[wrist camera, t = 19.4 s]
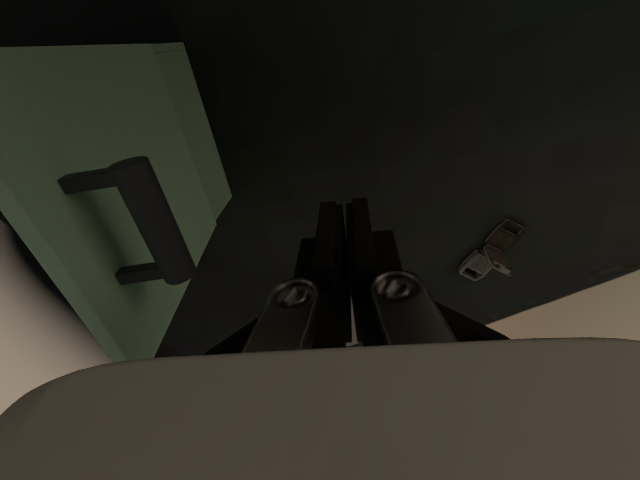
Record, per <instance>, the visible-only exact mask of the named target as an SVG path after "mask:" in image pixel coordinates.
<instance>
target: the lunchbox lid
mask: <svg viewBox="0 0 640 480" xmlns="http://www.w3.org/2000/svg"><path fill="white" fill-rule="evenodd" d="M0 211H1V212H2V213H3V215H4V216H5V217H6V219H7V220H8V221H9V223H10V224H11V225H12V227H13V228H14V229H15V231H16V232H17V233H18V235H19V236H20V237H21V239H22V240H23V241H24V243H25V244H26V245H27V247H28V248H29V249H30V251H31V252H32V254H33V255H34V256H35V258H36V259H37V260H38V262H39V263H40V264H41V266H42V267H43V268H44V270H45V271H46V272H47V274H48V275H49V276H50V277H51V279H52V280H53V282H54V283H55V285H56V286H57V287H58V288H59V290H60V291H61V293H62V294H63V295H64V297H65V298H66V299H67V301H68V302H69V303H70V305H71V306H72V307H73V309H74V310H75V311H76V313H77V314H78V315H79V317H80V318H81V319H82V321H83V322H84V323H85V325H86V326H87V328H88V329H89V330H90V331H91V333H92V334H93V336H94V337H95V338H96V340H97V341H98V342H99V344H100V345H101V346H102V348H103V349H104V350H105V352H106V353H107V354H108V356H109V357H110V359H111V360H112V361H113V363H114V362H120V361H129V360H140V359H151V358H154V356H155V353H156V351H157V349H158V347H159V345H160V343H161V341H162V339H163V337H164V334H165V332H166V330H167V328H168V326H169V324H170V322H171V320H172V317H173V315H174V313H175V311H176V309H177V307H178V305H179V303H180V300H181V298H182V296H183V294H184V292H185V290H186V288H187V286H188V284H189V281H190V279H191V278H192V277H193V276H194V275H195V274H196V271H197V268H196V267H197V264H198V262H199V260H200V258H201V256H202V254H203V252H204V250H205V247H206V245H207V243H208V241H209V239H210V237H211V235H212V233H213V230H214V228H215V226H216V222H215V219H214V216H213V213H212V211H211V208H210V205H209V202H208V200H207V197H206V194H205V191H204V189H203V186H202V183H201V180H200V178H199V175H198V172H197V169H196V167H195V164H194V161H193V158H192V156H191V153H190V150H189V147H188V145H187V142H186V139H185V136H184V134H183V131H182V128H181V125H180V123H179V120H178V117H177V114H176V111H175V109H174V106H173V103H172V100H171V98H170V95H169V92H168V89H167V87H166V84H165V81H164V78H163V76H162V73H161V70H160V67H159V65H158V62H157V59H156V56H155V54H154V51H153V48H152V45H151V44H150V43H148V44H111V45H73V46H35V47H0Z"/></svg>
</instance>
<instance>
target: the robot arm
mask: <svg viewBox="0 0 640 480" xmlns="http://www.w3.org/2000/svg"><path fill="white" fill-rule="evenodd" d="M346 223H347V242H346V234H345V226H344V218H343V210H342V204H340V205H336V201H331V202H322V203H320V209H319V217H318V224H317V231H316V237H315V238H305V239H302V240H301V244H300V248H299V253H298V258H297V263H296V268H295V273H294V278H291V279H288V280H285V281H283V282H281V283H279V284H278V285H277V286H276V287H274V289H273V290H272V291H271V293H270V295H269V297H268V299H267V301H266V303H265V305H264V307H263V309H262V311H261V313H260V315H259V317H258V318H257V319H255V320H254V321H252V322H251V323H249V324H248V325H246V326H245V327H243V328H242V329H240V330H239V331H237V332H236V333H234V334H233V335H231V336H230V337H228V338H227V339H225V340H224V341H222V342H221V343H219V344H218V345H216V346H215V347H213V348H212V349H210V350H209V351H208V352H206V353H205V354H204V355H197V356H180V357H163V358H151V359H140V360H129V361H120V362H114V363H108V364H102V365H98V366H94V367H91V368H86V369H82V370H78V371H75V372H73V373H70V374H67V375H64V376H62V377H59V378H56V379H54V380H51V381H49V382H47V383H45V384H43V385H41V386H39V387H37V388H35V389H33V390H31V391H30V392H28V393H26V394H25V395H23V396H22V397H21V398H19V399H18V400H17V401H16V402H15V403H13V404H12V405H11V406H10V407H9V408H7V409H6V410H5V411H4V412H3V413H2V414H1V415H0V480H640V341H637V340H628V339H617V338H593V337H582V338H532V339H509V338H508V337H506V336H505V335H502V334H501V333H499V332H497V331H495V330H492V329H490V328H488V327H486V326H484V325H482V324H480V323H478V322H476V321H474V320H472V319H470V318H468V317H466V316H464V315H462V314H460V313H458V312H456V311H454V310H452V309H450V308H447V307H445V306H443V305H441V304H439V303H437V302H435V301H434V299H433V298H432V296H431V294H430V292H429V291H428V289H427V287H426V285H425V284H424V282H423V281H422V279H421V278H420V277H419V276H417V275H416V274H414V273H412V272H409V271H406V270H402V267H401V263H400V259H399V255H398V251H397V247H396V243H395V239H394V235H393V231H392V230H388V231H377V232H372V231H371V224H370V217H369V210H368V203H367V198H358V199H352V203H349V204H346ZM351 299H352V306H353V314H354V322H355V329H356V337H357V342H363V345H364V347H346V343H352V321H351Z"/></svg>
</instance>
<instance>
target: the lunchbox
mask: <svg viewBox="0 0 640 480" xmlns="http://www.w3.org/2000/svg"><path fill="white" fill-rule="evenodd" d="M151 45H152V48H153V51H154V54H155V56H156V59H157V62H158V65H159V67H160V70H161V73H162V76H163V78H164V81H165V84H166V87H167V89H168V92H169V95H170V98H171V100H172V103H173V106H174V109H175V111H176V114H177V117H178V120H179V123H180V125H181V128H182V131H183V134H184V136H185V139H186V142H187V145H188V147H189V150H190V153H191V156H192V158H193V161H194V164H195V167H196V169H197V172H198V175H199V178H200V180H201V183H202V186H203V189H204V191H205V194H206V197H207V200H208V202H209V205H210V208H211V211H212V213H213V216H214V219H215V220H216V219H217V218H218V216H219V215H220V213H221V212H222V210H223V209H224V207H225V206H226V204H227V203H228V201H229V200H230V198H231V197H232V195H231V192H230V188H229V185H228V182H227V179H226V176H225V173H224V169H223V166H222V163H221V160H220V157H219V154H218V151H217V147H216V144H215V141H214V138H213V135H212V132H211V129H210V125H209V122H208V119H207V116H206V113H205V110H204V107H203V103H202V100H201V97H200V94H199V91H198V88H197V84H196V81H195V78H194V75H193V72H192V69H191V66H190V62H189V59H188V56H187V53H186V50H185V47H184V44H183V42H176V43H159V44H151Z"/></svg>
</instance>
